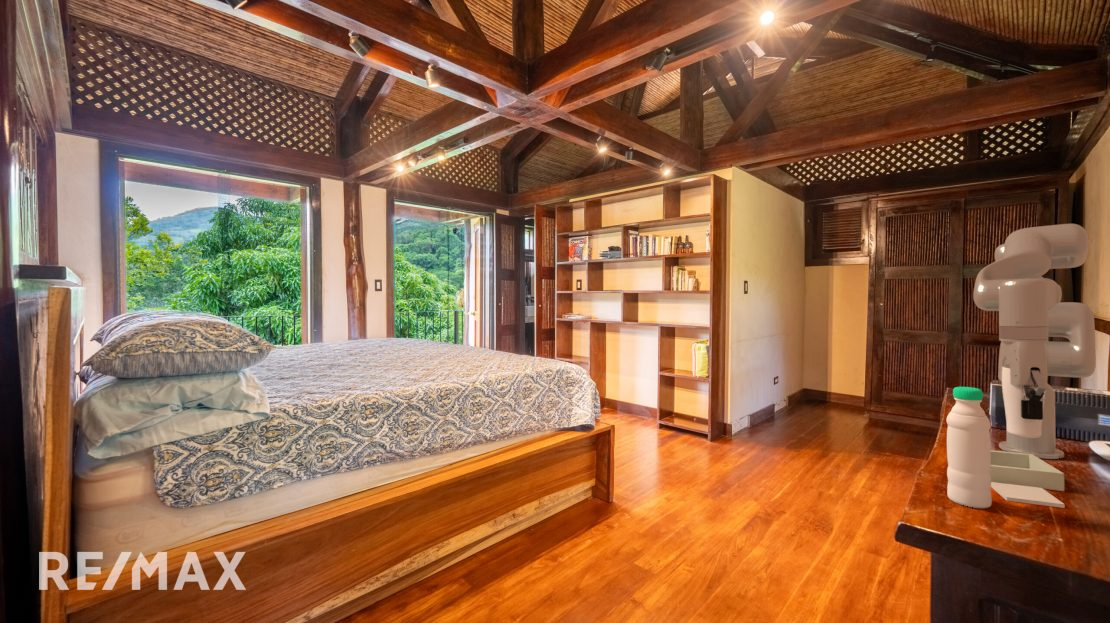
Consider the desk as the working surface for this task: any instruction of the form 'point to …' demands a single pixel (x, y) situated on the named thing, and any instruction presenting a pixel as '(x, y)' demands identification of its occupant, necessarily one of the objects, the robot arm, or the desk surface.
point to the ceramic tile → (1026, 494)
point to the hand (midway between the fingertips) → (1023, 414)
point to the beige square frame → (1024, 471)
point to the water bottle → (968, 450)
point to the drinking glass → (1018, 409)
